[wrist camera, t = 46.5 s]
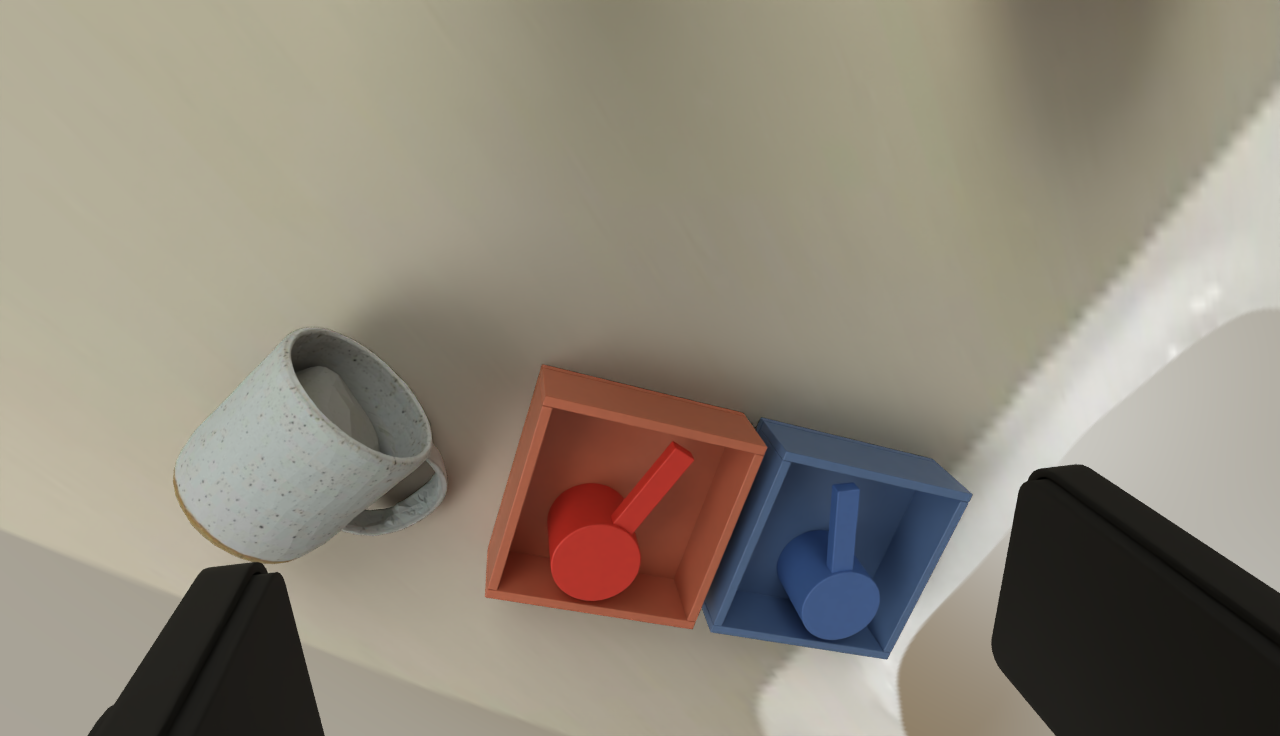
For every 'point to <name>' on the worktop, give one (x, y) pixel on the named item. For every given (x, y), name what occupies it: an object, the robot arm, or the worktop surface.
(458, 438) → the worktop surface
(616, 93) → the worktop surface
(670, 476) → the red scoop
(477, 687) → the worktop surface
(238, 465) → the ceramic mug
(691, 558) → the red bin
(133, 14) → the worktop surface
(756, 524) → the blue bin
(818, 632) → the blue scoop
